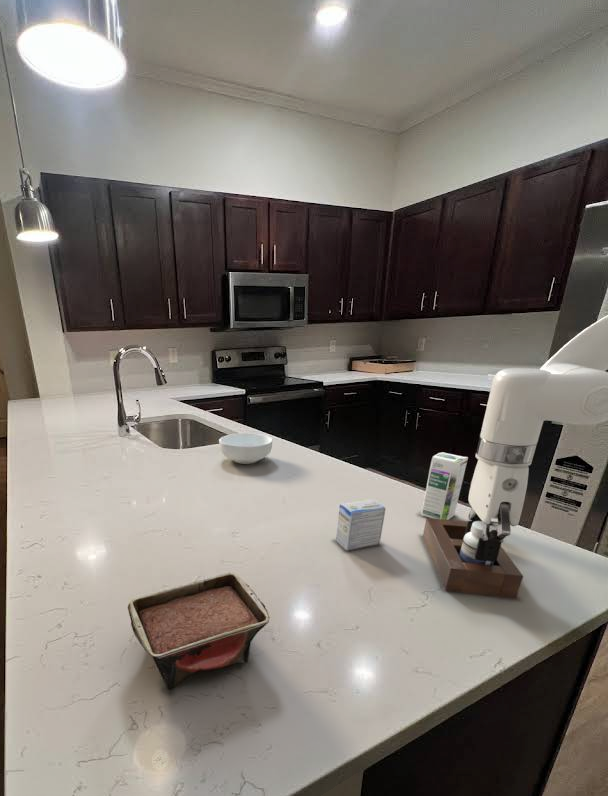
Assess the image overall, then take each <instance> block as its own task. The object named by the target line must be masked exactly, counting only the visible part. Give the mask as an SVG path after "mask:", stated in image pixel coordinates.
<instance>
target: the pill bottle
mask: <svg viewBox="0 0 608 796" xmlns="http://www.w3.org/2000/svg"><path fill="white" fill-rule="evenodd" d="M483 525H484V522H483V521H476V522H473V524H472V527H471V532H468V533H467V534H465V536H464V538H463V542H462V546H461V550H460V553H459V556H460V558H461V560H462V562H465V563H475V564H485V565H494V562H495V561H494V562H493V561H482V560H476V559H475V553H476V549H477V545H478V541H479V538H482V534H483ZM497 528H498V526H490V529H489V532H490V531H492V530H496V529H497Z"/></svg>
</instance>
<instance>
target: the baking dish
mask: <svg viewBox="0 0 608 796" xmlns="http://www.w3.org/2000/svg"><path fill="white" fill-rule="evenodd" d="M127 610H128V615H129V618H130V626H131V629H132V631H133V634H134V636H135V638H136V639H137V640H138V642H139V644H140V645H141V646H142V648H143V650H144V651H145V652H146V653H147V654H148V655H150V656H151V657H152V659H153V661H154V664H155V665H156V668H157V669H158V671H159V673H160V674H161V678H162V679H163V682H164V684H165V686H166V688H167V690H169V691H171V690H172V688H173V687H175V686H176V685H177V684H178V683H179V682H180V681H182V680H183V679H185V678H187V677H189V676H191V675H192V674H194V673H196V672H197V671H204V672H205V671H211V670H218V669H220V668H223V667H227V666H230V665H232V664H237V663H242V664H243V663H244V664H248V662H249V656H250V650H251V643H252V641H253V639H254V638H255V637H256V635H257V634H258V633H259V632H260V631H262V629H263V628H264V627H265V626H266V625H268V624H269V622H270V615H269V611H268V609H267V608H266V606H265V604H264V602H262V601H261V599H260V598H259V597H258V595H257V593H255V592H254V590H253V589H252V588H250V585H248V584H247V583H246V582H245V581H244V580H243V579H242V578H241V577H240V576H238V575H237V574H235V573H234V572H228V573H223V574H222V573H221V574H218V575H216V576H212V577H209V578H208V577H207V578H204V579H202V580H197V581H194V582H189V583H186V584H184V585H179V586H176V587H172V588H168V589H165V590H162V591H157V592H153V593H150V594H146V595H143V596H138V597H136V598H133V599H132V600H131V601H130V602H129V603H128V605H127Z"/></svg>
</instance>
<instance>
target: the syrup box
mask: <svg viewBox="0 0 608 796" xmlns="http://www.w3.org/2000/svg"><path fill="white" fill-rule="evenodd" d="M468 459H469V457H468V456H462V455H457V454H453V453H447V452H444V451H443V452H438V453H437V454H434V455H433V456H432V458H431V461H430V466H429V471H428V477H427V482H426V487H425V493H424V498H423V503H422V507H421V511H420V516H422V517H425V518H433V519H445V520H451V518H453V517H454V516H455V514H456V509H457V506H458V502H459V497H460V493H461V490H462V486H463V481H464V477H465V473H466V472H465V471H466V468H467V464H468Z"/></svg>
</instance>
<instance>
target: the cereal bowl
mask: <svg viewBox="0 0 608 796" xmlns="http://www.w3.org/2000/svg"><path fill="white" fill-rule="evenodd" d="M218 445H219V450H220V452H221V454H222V455H223V456H224V457H225V458H227V459H229V460H232V461H233V462H234V463H237V464H242V465H251V464H255V463H257V462H258V461H260V460H262V459H265V458H266V457H267V456H268V455H269V454H270V453H271V451H272V448H273V439H272V437H271V436H268V435H266V434H261V433H260V434H259V433H252V432H241V433H239V432H238V433H231V434H227V435H224V436H221V437H220V438H219V439H218Z"/></svg>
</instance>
